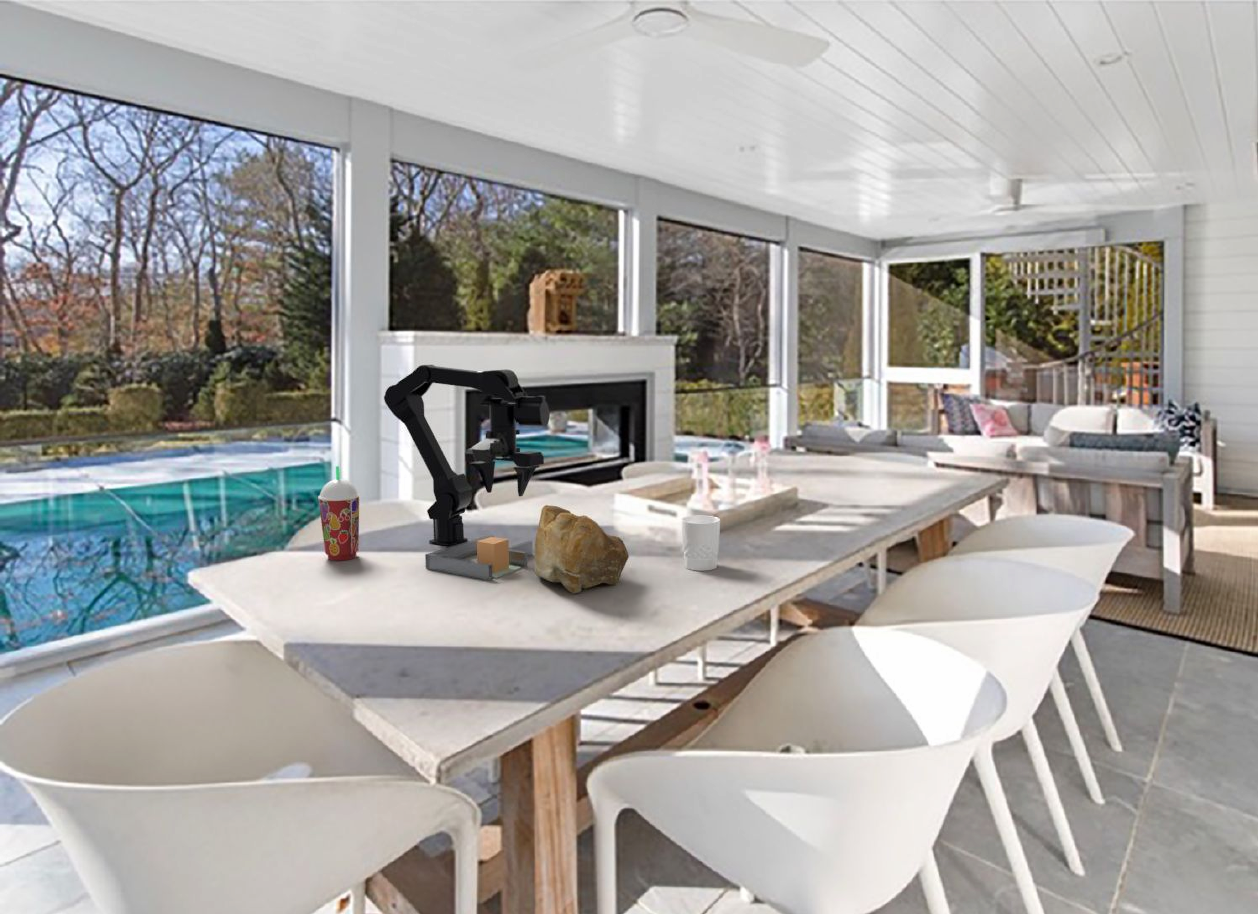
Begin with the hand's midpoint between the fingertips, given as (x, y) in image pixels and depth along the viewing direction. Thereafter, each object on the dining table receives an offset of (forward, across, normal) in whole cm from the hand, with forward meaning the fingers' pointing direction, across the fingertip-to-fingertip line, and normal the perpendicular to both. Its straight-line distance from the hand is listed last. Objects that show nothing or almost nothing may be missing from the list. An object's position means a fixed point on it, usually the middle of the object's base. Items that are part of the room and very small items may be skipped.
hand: (504, 494), depth 180 cm
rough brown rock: (+12, +32, -14) cm, 37 cm away
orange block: (+12, +11, -17) cm, 23 cm away
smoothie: (+12, -24, -26) cm, 37 cm away
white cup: (+12, +46, +7) cm, 48 cm away
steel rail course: (+12, +6, -13) cm, 19 cm away
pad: (+12, +11, -17) cm, 23 cm away
